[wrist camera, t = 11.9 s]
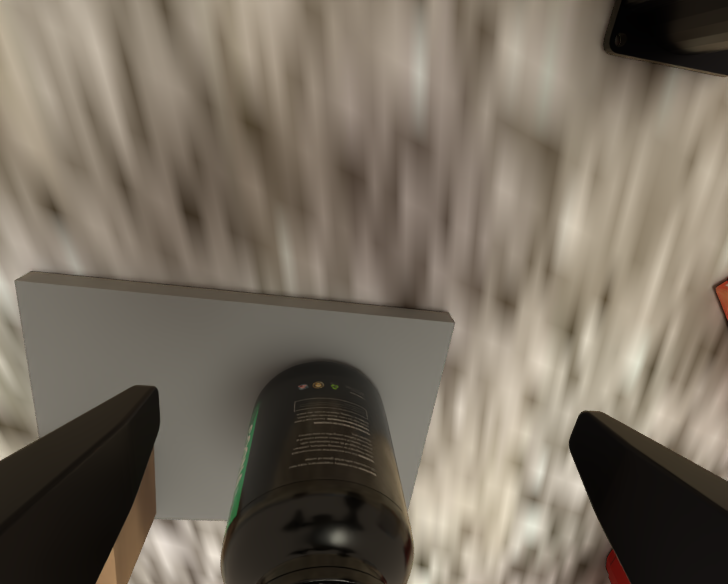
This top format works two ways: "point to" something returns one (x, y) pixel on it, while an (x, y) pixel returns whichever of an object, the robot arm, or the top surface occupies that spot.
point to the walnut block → (132, 531)
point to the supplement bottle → (318, 486)
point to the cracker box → (723, 296)
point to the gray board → (217, 368)
